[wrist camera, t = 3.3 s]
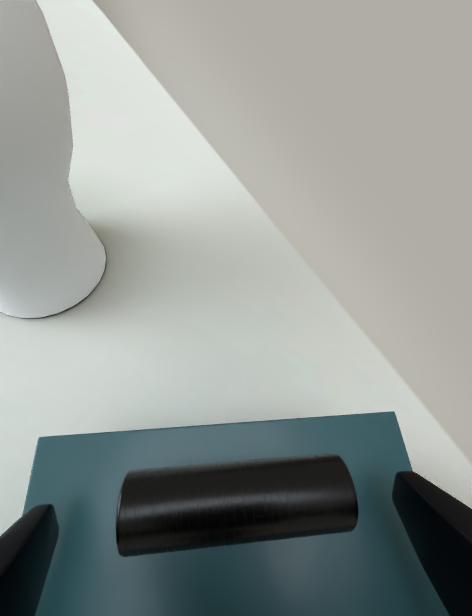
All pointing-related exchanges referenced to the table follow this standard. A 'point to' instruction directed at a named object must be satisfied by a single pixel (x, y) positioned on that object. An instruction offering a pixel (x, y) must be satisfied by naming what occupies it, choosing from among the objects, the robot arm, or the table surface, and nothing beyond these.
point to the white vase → (38, 176)
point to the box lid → (231, 521)
